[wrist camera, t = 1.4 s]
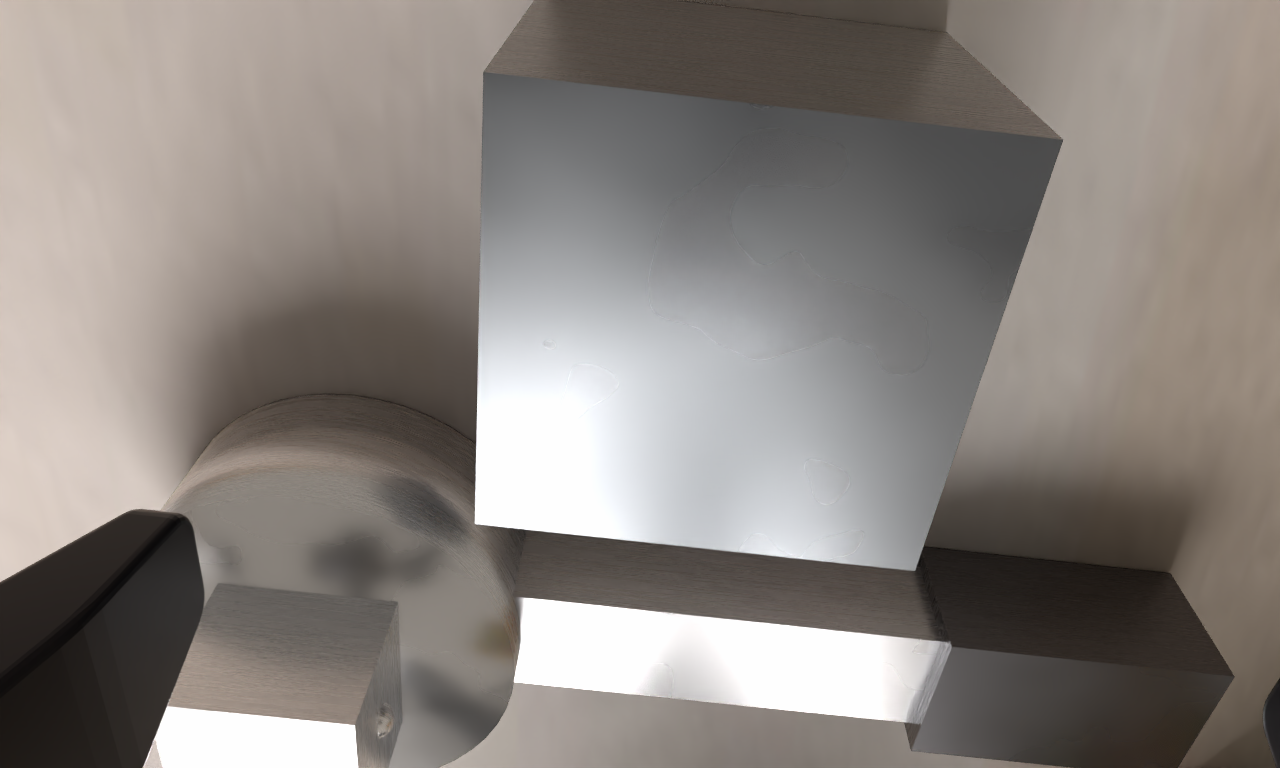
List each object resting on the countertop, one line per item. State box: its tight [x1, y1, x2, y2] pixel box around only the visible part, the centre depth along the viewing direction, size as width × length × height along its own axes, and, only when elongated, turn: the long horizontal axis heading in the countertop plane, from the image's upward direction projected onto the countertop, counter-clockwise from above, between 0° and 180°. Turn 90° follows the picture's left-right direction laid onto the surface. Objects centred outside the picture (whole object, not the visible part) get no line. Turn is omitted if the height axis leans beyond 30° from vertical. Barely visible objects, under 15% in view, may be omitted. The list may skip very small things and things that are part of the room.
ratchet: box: [155, 394, 1235, 768], centre depth 17 cm, size 20×7×6 cm, turn 84°
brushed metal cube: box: [475, 0, 1063, 571], centre depth 13 cm, size 6×6×5 cm
